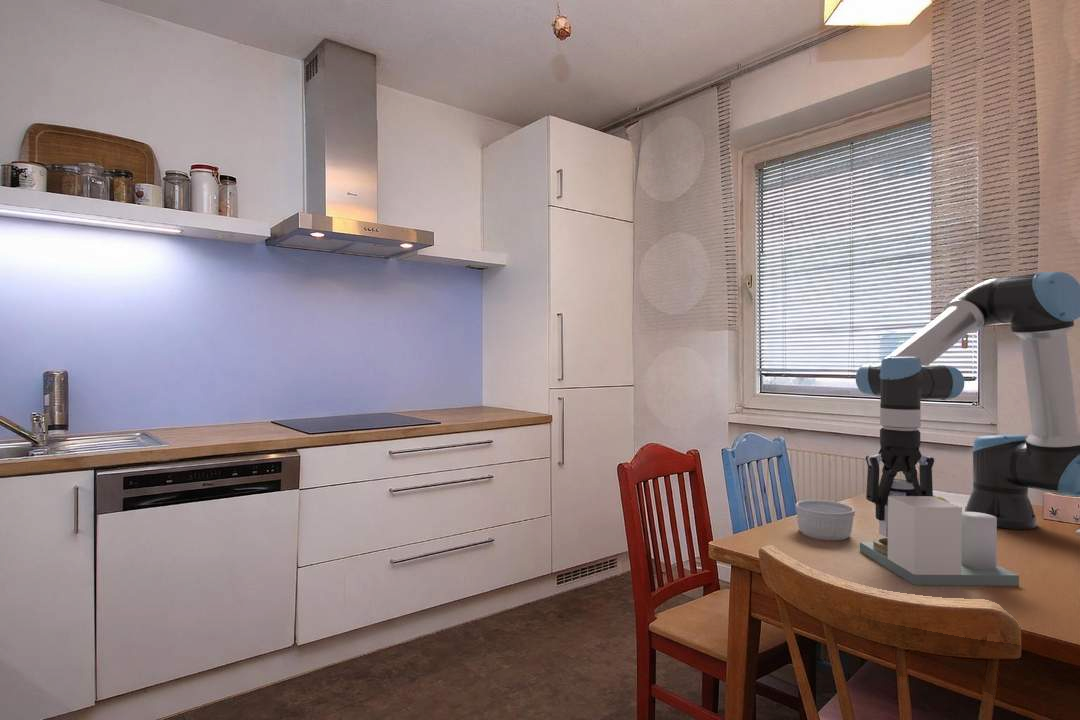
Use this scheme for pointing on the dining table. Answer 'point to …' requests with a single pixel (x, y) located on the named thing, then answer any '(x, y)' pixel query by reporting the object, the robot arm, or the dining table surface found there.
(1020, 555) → the dining table surface
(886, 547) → the socket
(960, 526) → the block
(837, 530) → the ramekin
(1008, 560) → the dining table surface
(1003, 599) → the dining table surface
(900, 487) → the beverage can
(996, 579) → the board
